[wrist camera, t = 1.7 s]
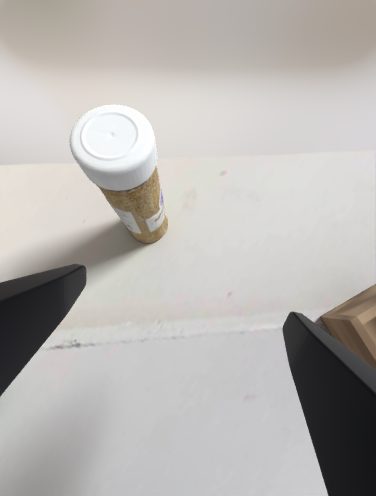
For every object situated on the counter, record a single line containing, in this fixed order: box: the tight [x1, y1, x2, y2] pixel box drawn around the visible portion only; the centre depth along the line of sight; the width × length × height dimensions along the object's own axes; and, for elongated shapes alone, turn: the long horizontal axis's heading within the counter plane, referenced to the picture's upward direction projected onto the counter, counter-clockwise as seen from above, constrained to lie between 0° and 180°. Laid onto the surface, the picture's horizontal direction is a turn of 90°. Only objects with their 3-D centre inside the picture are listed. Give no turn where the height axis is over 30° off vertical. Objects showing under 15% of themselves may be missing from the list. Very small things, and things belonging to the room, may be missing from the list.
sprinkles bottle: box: [70, 105, 168, 243], centre depth 17 cm, size 5×5×14 cm
